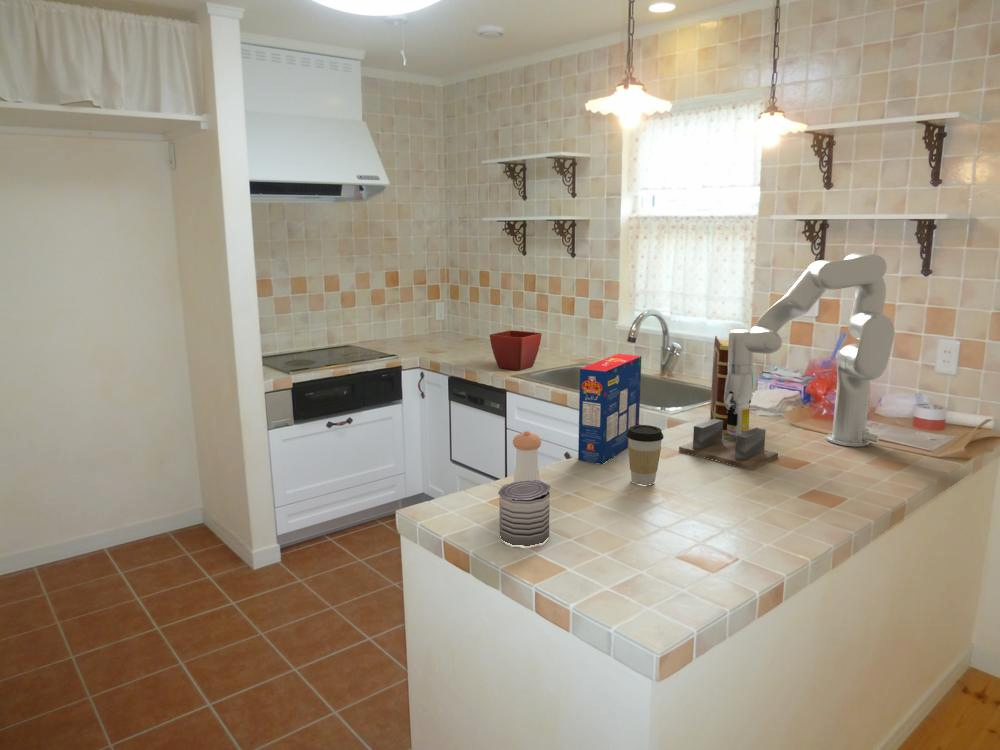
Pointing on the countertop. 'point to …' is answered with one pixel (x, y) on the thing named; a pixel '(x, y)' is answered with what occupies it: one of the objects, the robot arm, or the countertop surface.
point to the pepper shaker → (526, 456)
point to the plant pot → (515, 349)
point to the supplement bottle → (740, 420)
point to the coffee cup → (644, 452)
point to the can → (524, 512)
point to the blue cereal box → (608, 406)
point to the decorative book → (719, 382)
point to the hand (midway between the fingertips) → (738, 422)
